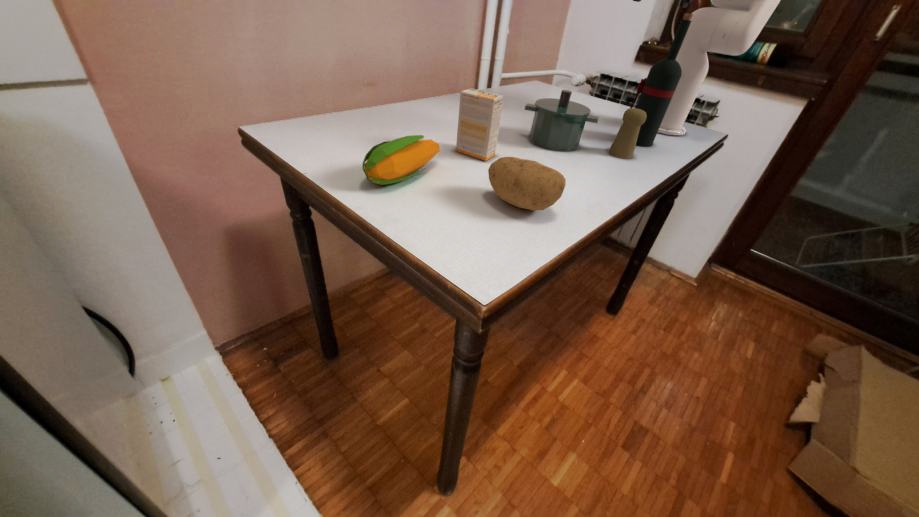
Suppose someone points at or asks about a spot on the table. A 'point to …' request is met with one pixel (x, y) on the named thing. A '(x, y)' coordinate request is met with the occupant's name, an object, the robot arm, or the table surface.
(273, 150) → the table surface
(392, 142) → the corn
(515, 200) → the potato
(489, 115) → the supplement box
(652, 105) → the wine bottle
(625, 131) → the cork
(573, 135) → the pot
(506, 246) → the table surface
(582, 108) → the pot lid
